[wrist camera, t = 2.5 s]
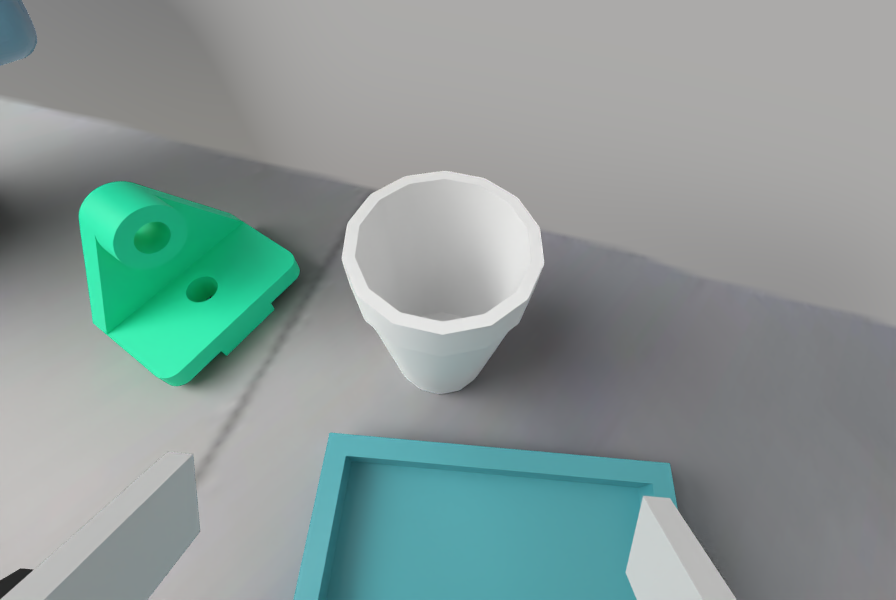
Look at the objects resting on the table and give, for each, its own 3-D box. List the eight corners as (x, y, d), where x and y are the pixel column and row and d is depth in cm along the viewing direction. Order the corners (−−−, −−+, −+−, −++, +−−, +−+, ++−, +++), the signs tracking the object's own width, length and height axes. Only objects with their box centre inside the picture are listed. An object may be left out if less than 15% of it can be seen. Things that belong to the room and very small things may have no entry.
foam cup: (357, 397, 29) (309, 304, 18) (396, 286, 34) (377, 157, 23) (493, 430, 28) (530, 354, 17) (514, 312, 33) (555, 191, 22)
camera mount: (186, 397, 29) (77, 332, 20) (117, 339, 31) (-9, 257, 22) (309, 277, 34) (264, 183, 25) (243, 234, 36) (180, 133, 27)
